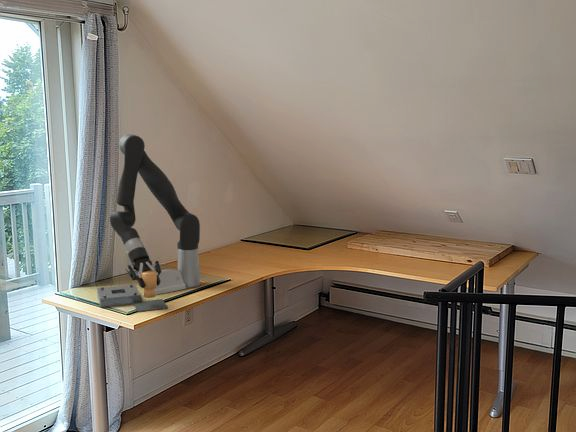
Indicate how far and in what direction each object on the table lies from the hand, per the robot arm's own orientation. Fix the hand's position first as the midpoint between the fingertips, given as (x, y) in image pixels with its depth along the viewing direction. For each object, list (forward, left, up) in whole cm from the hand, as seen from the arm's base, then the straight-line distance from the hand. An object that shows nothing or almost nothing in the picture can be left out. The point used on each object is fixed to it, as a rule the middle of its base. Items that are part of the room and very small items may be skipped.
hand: (151, 285), depth 244 cm
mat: (0, -2, -9) cm, 9 cm away
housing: (+11, -15, -9) cm, 21 cm away
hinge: (-10, -21, -9) cm, 25 cm away
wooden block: (+1, -2, -5) cm, 5 cm away
